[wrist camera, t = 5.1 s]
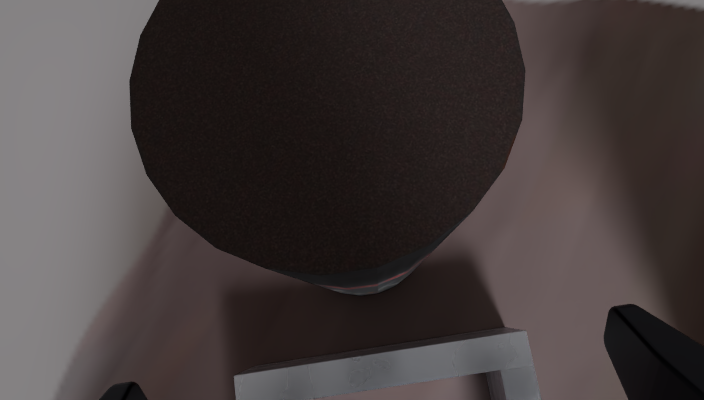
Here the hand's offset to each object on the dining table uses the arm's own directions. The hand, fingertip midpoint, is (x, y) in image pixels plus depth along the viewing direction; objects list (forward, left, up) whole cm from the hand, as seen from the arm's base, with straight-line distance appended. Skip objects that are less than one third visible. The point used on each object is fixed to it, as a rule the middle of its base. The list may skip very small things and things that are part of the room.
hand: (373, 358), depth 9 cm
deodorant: (+2, +4, -12) cm, 13 cm away
